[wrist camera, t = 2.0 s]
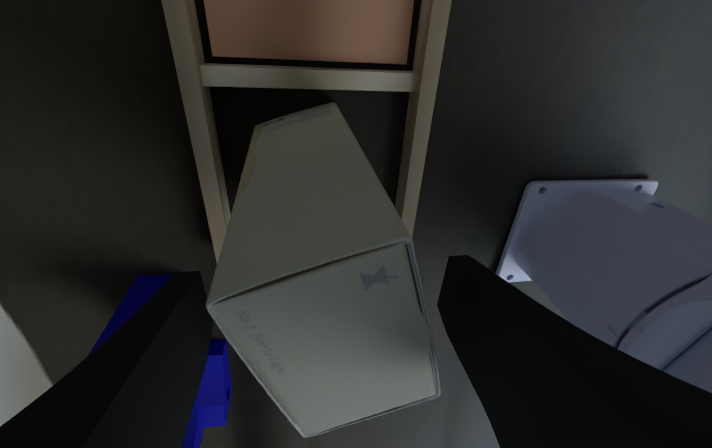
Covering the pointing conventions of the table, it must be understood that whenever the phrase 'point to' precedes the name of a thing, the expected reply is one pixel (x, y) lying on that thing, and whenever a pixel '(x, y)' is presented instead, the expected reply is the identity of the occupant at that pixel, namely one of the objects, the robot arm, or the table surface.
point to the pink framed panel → (306, 71)
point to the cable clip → (216, 374)
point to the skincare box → (322, 279)
